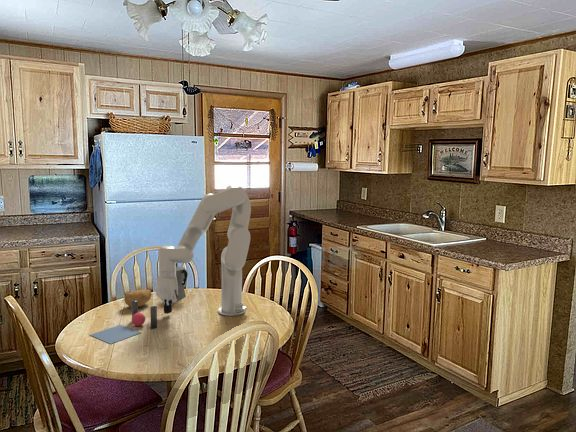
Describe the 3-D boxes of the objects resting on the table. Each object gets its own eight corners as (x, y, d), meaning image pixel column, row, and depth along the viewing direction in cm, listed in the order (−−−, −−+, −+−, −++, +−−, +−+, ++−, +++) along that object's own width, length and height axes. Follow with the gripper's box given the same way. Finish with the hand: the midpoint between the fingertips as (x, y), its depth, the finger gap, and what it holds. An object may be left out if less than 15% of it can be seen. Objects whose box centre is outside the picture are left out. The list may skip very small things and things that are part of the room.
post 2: (158, 327, 189) (158, 306, 188) (153, 329, 187) (153, 308, 186) (154, 325, 190) (154, 305, 189) (149, 327, 188) (149, 307, 187)
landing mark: (141, 332, 182) (141, 332, 182) (110, 344, 171) (110, 343, 171) (120, 325, 190) (120, 324, 190) (89, 335, 179) (89, 334, 179)
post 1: (139, 320, 196) (139, 300, 195) (134, 322, 194) (134, 302, 193) (135, 319, 197) (135, 299, 196) (130, 320, 195) (130, 301, 194)
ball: (149, 323, 191) (146, 311, 190) (138, 329, 187) (136, 318, 185) (140, 320, 194) (138, 309, 193) (130, 326, 190) (127, 315, 189)
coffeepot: (160, 296, 230) (160, 262, 228) (175, 292, 238) (175, 259, 235) (179, 302, 221) (179, 267, 219) (194, 298, 228) (194, 264, 226)
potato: (156, 304, 217) (156, 288, 216) (132, 312, 206) (132, 295, 205) (143, 300, 223) (143, 285, 222) (119, 308, 211) (119, 291, 210)
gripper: (149, 272, 201) (150, 311, 204) (172, 278, 193) (172, 318, 195) (163, 269, 207) (163, 307, 210) (185, 274, 199) (185, 313, 201)
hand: (167, 312), depth 202 cm, fingers closed
